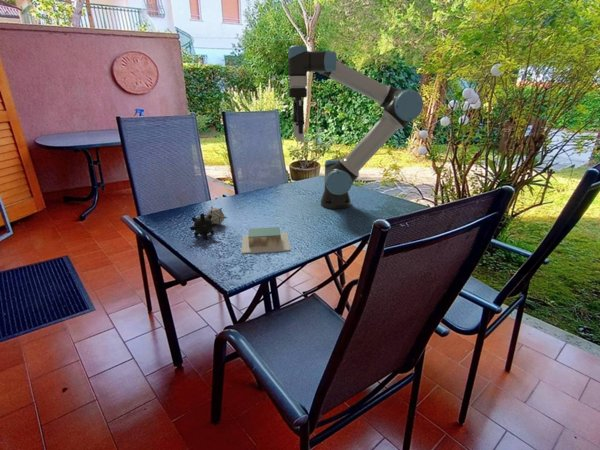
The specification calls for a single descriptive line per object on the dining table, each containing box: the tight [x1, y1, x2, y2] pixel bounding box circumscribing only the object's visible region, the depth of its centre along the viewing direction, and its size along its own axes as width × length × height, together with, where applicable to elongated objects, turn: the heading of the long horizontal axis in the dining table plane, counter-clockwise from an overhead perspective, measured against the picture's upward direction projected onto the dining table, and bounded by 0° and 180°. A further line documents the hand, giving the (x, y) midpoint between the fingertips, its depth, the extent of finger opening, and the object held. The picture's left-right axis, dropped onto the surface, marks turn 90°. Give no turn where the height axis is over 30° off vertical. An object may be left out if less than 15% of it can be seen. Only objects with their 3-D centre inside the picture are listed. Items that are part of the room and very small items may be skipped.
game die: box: [204, 206, 228, 227], centre depth 148 cm, size 9×8×10 cm
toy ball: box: [189, 213, 218, 241], centre depth 137 cm, size 11×11×12 cm
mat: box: [240, 232, 292, 255], centre depth 132 cm, size 18×16×1 cm
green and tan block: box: [247, 226, 281, 247], centre depth 131 cm, size 4×8×12 cm
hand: (298, 139), depth 150 cm, fingers open, 13 cm apart
